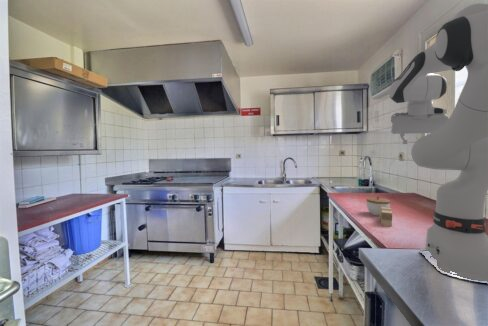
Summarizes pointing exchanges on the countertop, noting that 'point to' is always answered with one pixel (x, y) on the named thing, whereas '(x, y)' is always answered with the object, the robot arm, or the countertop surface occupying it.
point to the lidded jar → (377, 205)
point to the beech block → (386, 216)
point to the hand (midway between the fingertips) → (417, 144)
